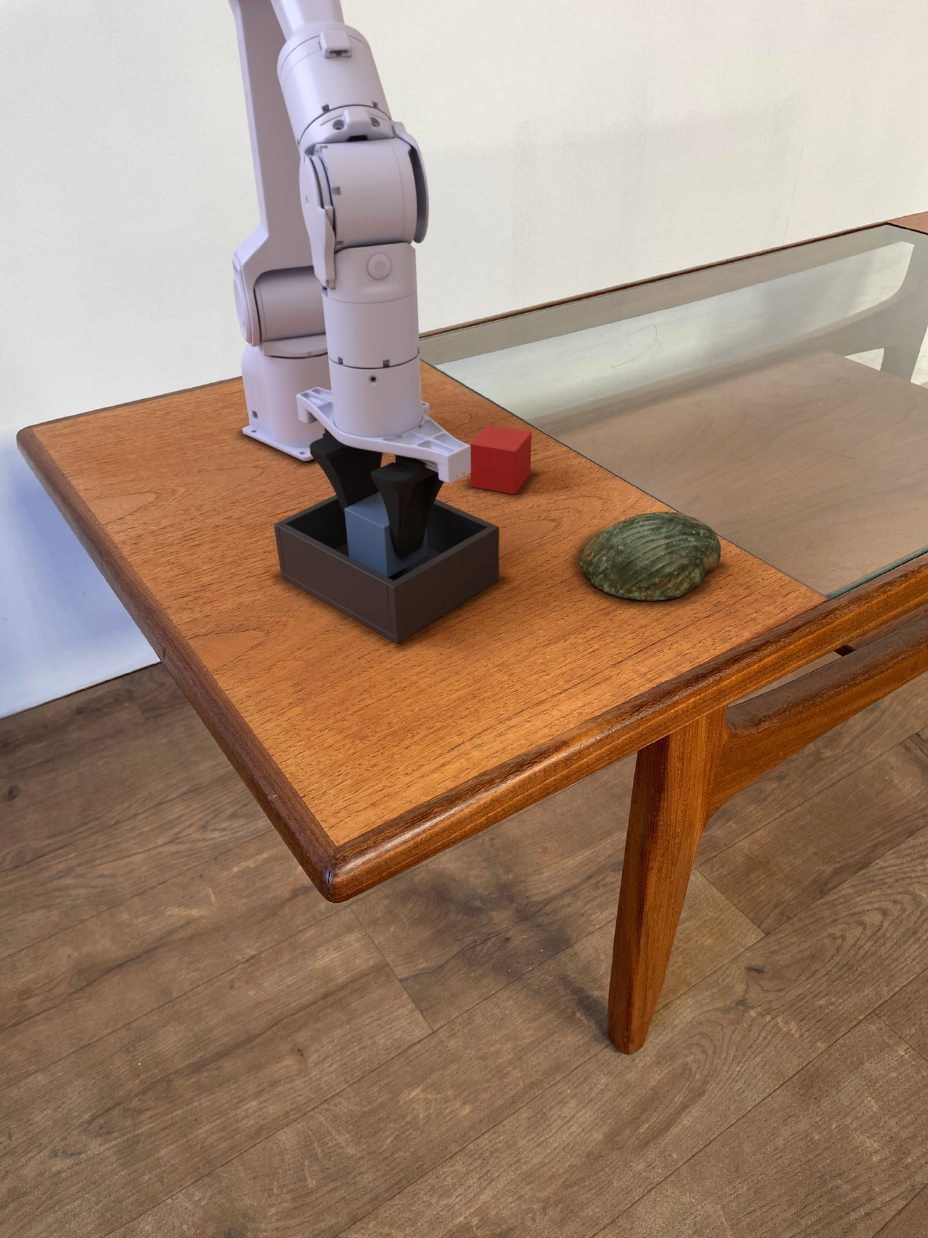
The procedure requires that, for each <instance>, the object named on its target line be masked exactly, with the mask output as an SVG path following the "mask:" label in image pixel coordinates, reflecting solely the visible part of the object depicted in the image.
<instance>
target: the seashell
mask: <svg viewBox="0 0 928 1238" xmlns="http://www.w3.org/2000/svg"><path fill="white" fill-rule="evenodd" d="M721 554H722V545H721V542H720V539H719V537H718V534H717V533H716V532H715V530H714V529H712V527H710V525H708V524H706V523H705V522H703V521H701V520H700V519H697V518H695V517H693V516H690V515H687V514H683V513H680V512H674V511H655V512H648V513H642V514H638V515H634V516H631V517H628V518H625V519H623V520H620V521H618V522H616V523H614V524H611V525H610V526H608V527H607V528H606V529H604V530H602V531H600V532H599V533H598V534H597V535H595V536H594V537H593V538H591V540H590V541H589V542H588V543H587V545H586V546H585V547H584V549H583V553H582V555H581V556H580V559H581V560H580V562H579V566H581V567H582V572H583V573H584V576H585V577H586V578H587V579H588V580H590V583H591V584H592V586H594V587H595V588H596V589H597V590H602V591H603V592H605V593H608V594H610V595H614V596H616V597H620V598H624V599H628V600H629V599H630V600H638V601H648V602H650V601H662V600H671V599H676V598H679V597H681V596H684V595H685V594H687V593H688V592H689V593H690V592H691V591H692V590H693V589H694V588H696V587H697V588H698V587H699V586H700V585H701V584H702V583H703V579H704V578H705V575H706V573H708V572H709V571H715V570H716V569H717V567H718V565H719V563H720V560H721Z"/></svg>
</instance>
